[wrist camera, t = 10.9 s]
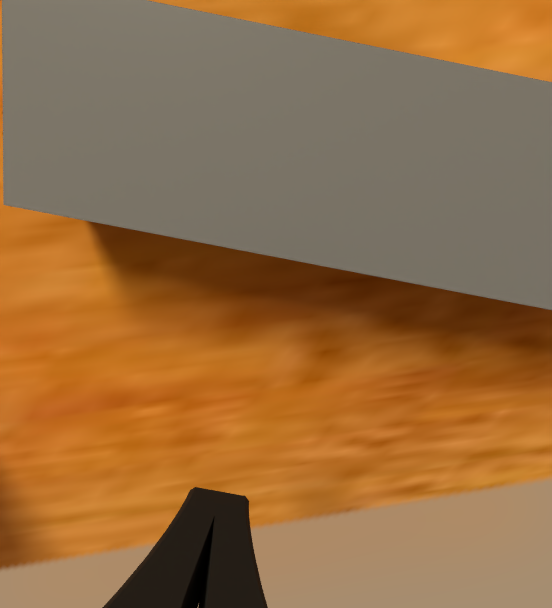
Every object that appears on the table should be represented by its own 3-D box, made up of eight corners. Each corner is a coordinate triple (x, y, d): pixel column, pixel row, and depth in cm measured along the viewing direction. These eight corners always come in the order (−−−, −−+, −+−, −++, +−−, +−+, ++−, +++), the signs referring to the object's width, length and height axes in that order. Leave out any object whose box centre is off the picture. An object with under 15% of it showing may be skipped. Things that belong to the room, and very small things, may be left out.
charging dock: (639, 119, 16) (766, 110, 12) (570, 286, 19) (656, 331, 14) (79, 6, 16) (-3, -46, 12) (72, 190, 18) (-1, 205, 14)
